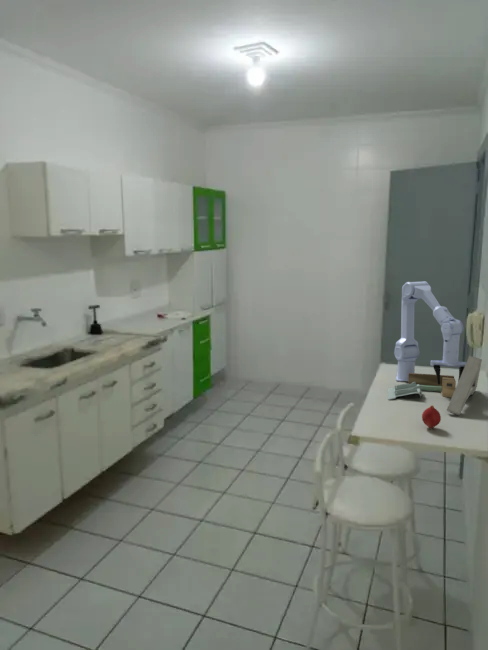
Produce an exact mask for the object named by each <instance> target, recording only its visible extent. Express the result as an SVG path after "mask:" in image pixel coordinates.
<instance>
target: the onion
mask: <svg viewBox="0 0 488 650" xmlns="http://www.w3.org/2000/svg"><path fill="white" fill-rule="evenodd" d="M421 420H422V422H423V424H424V425H425V426H427V427H428V428H429V429H433V428H435V427H436V426H438V425H439V424H440V423H441V420H442V417H441V413H440V412H439V410H437V408H435V406H434V405H430V406H429V407H427V408H426V409H424V410H423V412H422V414H421Z"/></svg>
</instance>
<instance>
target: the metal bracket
mask: <svg viewBox="0 0 488 650" xmlns="http://www.w3.org/2000/svg"><path fill="white" fill-rule="evenodd" d="M414 383H415V384H414ZM417 393H419V396H420V398H422V397H423V396H424V393H423V392H422V391H421V385H419V384H417V385H416V382H413V383H411V384H408V383H402V384H396V385H394V387H390V388H389V387H388V388H387V397H386V400H388V401H389V400H396V398H398V397H404V396H408V395H413V394H417Z"/></svg>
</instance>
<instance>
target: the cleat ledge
mask: <svg viewBox="0 0 488 650" xmlns="http://www.w3.org/2000/svg"><path fill="white" fill-rule="evenodd" d="M416 385H417V384H416ZM422 391H423V392H424V391H425V392H435V393H442V386H433V385H421V392H422Z"/></svg>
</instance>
